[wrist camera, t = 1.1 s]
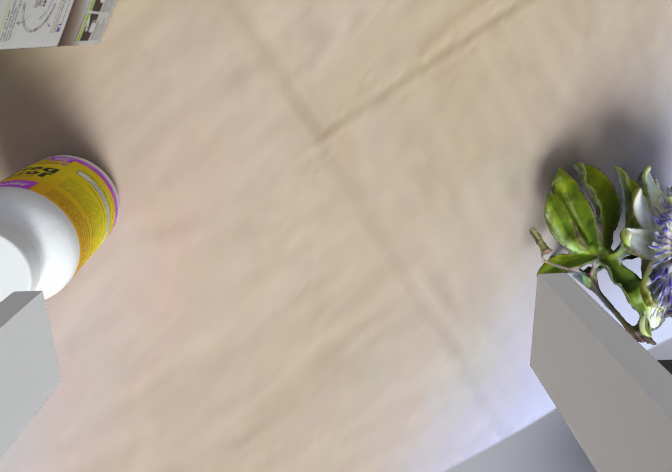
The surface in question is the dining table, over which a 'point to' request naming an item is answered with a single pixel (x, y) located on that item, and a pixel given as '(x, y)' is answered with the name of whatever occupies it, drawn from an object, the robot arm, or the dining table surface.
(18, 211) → the supplement bottle
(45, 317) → the robot arm
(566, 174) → the passion flower
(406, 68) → the dining table surface
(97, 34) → the coffee box
